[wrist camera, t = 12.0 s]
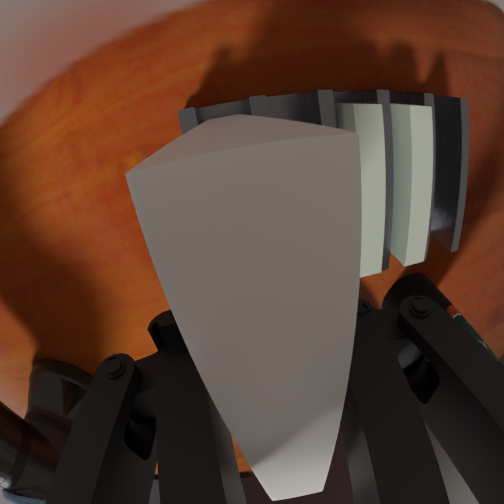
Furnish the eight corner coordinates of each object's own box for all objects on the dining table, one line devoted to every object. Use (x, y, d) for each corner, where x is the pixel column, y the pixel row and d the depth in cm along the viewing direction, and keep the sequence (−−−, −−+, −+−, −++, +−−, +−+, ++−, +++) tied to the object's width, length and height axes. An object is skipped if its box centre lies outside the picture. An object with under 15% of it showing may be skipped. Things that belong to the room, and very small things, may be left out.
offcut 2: (371, 234, 25) (404, 266, 20) (367, 102, 20) (409, 105, 14) (389, 230, 25) (423, 261, 20) (387, 103, 20) (431, 106, 14)
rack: (216, 264, 27) (216, 305, 21) (182, 112, 20) (169, 112, 15) (427, 224, 27) (460, 249, 22) (429, 95, 20) (471, 99, 15)
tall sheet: (238, 268, 24) (272, 501, 8) (208, 119, 18) (125, 173, 2) (262, 263, 24) (322, 490, 8) (237, 114, 18) (359, 133, 2)
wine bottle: (386, 279, 30) (529, 510, 4) (434, 268, 30) (576, 453, 4) (376, 327, 34) (477, 531, 7) (422, 314, 34) (529, 487, 8)
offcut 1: (330, 241, 25) (357, 278, 20) (320, 104, 19) (353, 104, 14) (350, 238, 25) (381, 272, 20) (343, 103, 19) (381, 104, 14)
